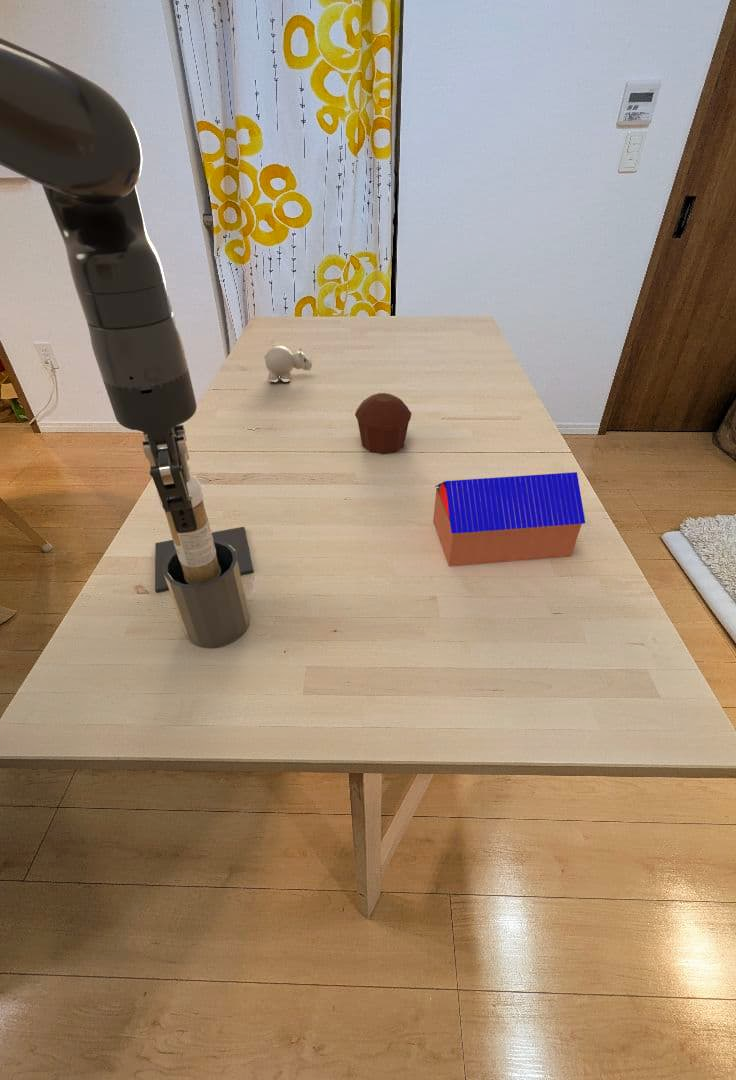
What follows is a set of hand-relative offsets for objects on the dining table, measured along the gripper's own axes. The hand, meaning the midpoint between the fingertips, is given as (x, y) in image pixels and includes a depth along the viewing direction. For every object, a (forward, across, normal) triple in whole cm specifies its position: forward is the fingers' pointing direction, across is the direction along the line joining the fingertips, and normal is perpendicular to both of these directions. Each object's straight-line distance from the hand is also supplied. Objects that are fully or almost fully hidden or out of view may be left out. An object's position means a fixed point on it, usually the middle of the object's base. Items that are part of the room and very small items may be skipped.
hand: (186, 515), depth 58 cm
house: (+18, -5, +45) cm, 49 cm away
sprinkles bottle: (+10, 0, 0) cm, 10 cm away
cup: (+18, 0, 0) cm, 18 cm away
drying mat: (+18, -14, -1) cm, 23 cm away
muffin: (+18, -40, +37) cm, 58 cm away
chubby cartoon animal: (+18, -79, +25) cm, 85 cm away
